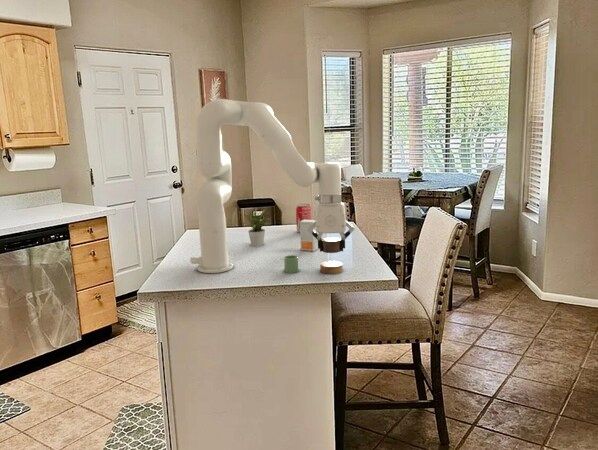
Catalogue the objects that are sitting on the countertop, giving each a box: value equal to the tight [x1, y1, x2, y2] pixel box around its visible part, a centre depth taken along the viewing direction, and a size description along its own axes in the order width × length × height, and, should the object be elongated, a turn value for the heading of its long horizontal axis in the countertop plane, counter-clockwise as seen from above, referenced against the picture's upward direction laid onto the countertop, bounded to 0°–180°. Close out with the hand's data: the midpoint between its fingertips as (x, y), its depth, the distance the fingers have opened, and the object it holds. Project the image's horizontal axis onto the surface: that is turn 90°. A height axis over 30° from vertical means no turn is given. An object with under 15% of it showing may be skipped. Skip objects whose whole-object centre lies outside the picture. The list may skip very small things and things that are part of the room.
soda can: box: [295, 203, 312, 234], centre depth 240 cm, size 7×7×13 cm
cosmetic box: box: [299, 219, 319, 252], centre depth 207 cm, size 6×4×12 cm
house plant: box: [239, 206, 271, 247], centre depth 216 cm, size 14×14×16 cm
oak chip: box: [319, 260, 343, 275], centre depth 177 cm, size 8×8×2 cm
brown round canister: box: [321, 236, 342, 254], centre depth 176 cm, size 7×7×4 cm
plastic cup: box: [283, 254, 299, 274], centre depth 178 cm, size 5×5×5 cm
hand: (331, 250), depth 176 cm, fingers closed on brown round canister, 6 cm apart
